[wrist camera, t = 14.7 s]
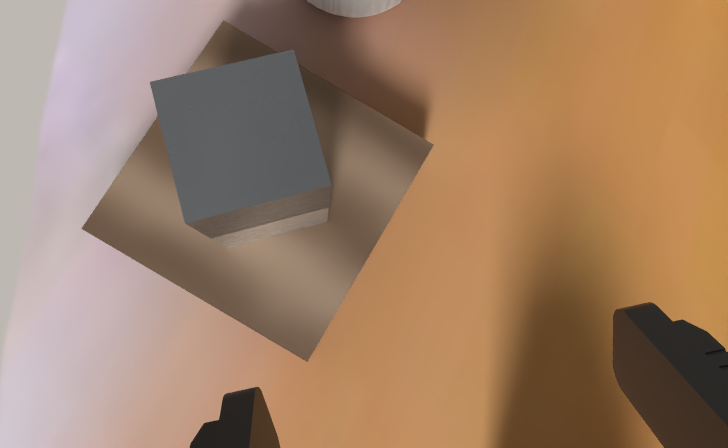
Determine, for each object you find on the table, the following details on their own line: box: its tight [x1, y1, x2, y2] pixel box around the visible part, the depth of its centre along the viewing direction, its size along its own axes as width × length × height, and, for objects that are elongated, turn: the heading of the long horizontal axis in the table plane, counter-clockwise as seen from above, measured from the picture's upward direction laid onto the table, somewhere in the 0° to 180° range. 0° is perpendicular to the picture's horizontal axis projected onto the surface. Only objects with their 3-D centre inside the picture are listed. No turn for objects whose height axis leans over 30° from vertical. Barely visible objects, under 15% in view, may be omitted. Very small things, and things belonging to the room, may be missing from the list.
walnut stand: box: [82, 20, 433, 362], centre depth 33 cm, size 14×14×4 cm
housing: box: [150, 49, 332, 248], centre depth 26 cm, size 6×6×10 cm
